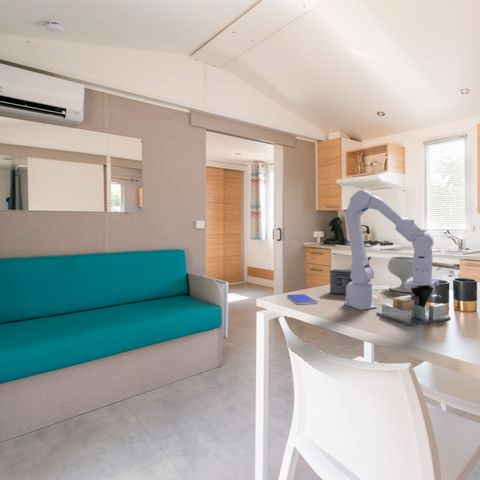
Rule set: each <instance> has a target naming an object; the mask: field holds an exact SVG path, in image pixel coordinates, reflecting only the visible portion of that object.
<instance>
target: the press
mask: <svg viewBox="0 0 480 480" xmlns="http://www.w3.org/2000/svg"><path fill="white" fill-rule="evenodd" d="M411 296H412V295H411V294H410V295H403V296H402V295H401V296H400V297H406V298H409V299H411ZM446 313H447V304H444V303H435V304H432V305H429V306H428V310H427V309H425V318H422V319H420V318H417V317H413V318H411V311H410V310H407V309H404V308H400V307H397V306H394V305H393V304H391V303H385V302H384V303H381V311H377V312H376V315H377V316H379V317H382V318H384V319H388V320H390V321H393V322H396V323H399V324H401V325H404V326H407V327H410V328H411V327H418V326H423V325H427V324H433V323H438V322H444V321H449V320H451V319H452V317H451V316H448V315H447V314H446Z"/></svg>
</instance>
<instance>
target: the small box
mask: <svg viewBox="0 0 480 480" xmlns="http://www.w3.org/2000/svg"><path fill="white" fill-rule="evenodd" d="M351 271H352V270H351V269H350V270H348V269H336V268H335V269H332V270H330V271H329V272H330V279H329V281H330V282H329V283H330V284H329V286H330V288H329V289H330V291H329V294H331V295H339V296H346V287H347V285H348V283H350V282H352V280H351V276H350V275H351Z"/></svg>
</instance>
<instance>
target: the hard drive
mask: <svg viewBox="0 0 480 480" xmlns="http://www.w3.org/2000/svg"><path fill="white" fill-rule="evenodd" d="M286 298H288V299H289V300H291V301H292V302H294V303H295V304H297V305H298V306H299V305H312V304H315V305H316V304H318V300H316V299H314V298H312V297H310V296H308V295H307V294H303V293H300V294H287V297H286Z"/></svg>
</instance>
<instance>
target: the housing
mask: <svg viewBox="0 0 480 480" xmlns="http://www.w3.org/2000/svg"><path fill="white" fill-rule="evenodd" d="M392 305H394V306H397V307H400V308H404V309H407V310H410V311H411V318H413V317H414V300H413V299H409V298H406V297H401V296H397V297H393V298H392Z"/></svg>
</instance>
